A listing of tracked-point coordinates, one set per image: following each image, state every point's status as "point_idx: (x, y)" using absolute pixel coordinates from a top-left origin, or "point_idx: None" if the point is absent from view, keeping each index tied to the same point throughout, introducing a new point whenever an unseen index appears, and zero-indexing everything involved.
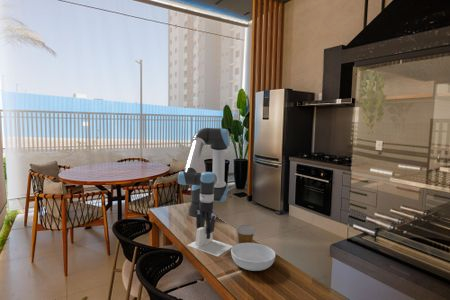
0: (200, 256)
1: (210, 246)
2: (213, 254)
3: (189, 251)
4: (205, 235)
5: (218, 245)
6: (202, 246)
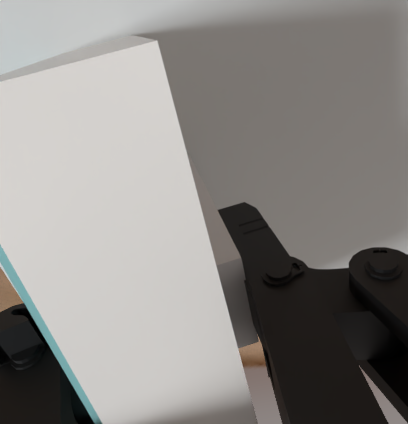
0: None
1: (260, 175)
2: (403, 250)
3: None
4: None
5: (317, 59)
6: None
